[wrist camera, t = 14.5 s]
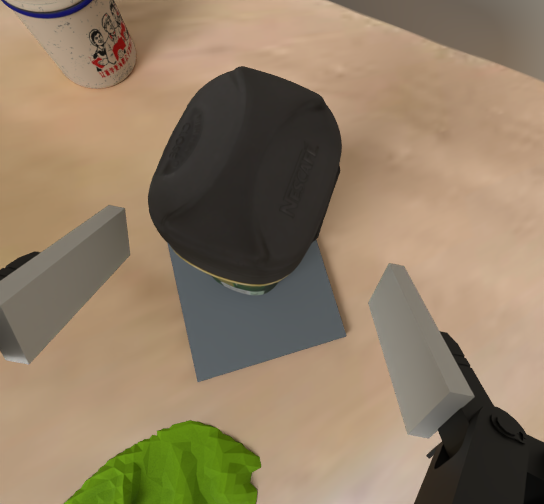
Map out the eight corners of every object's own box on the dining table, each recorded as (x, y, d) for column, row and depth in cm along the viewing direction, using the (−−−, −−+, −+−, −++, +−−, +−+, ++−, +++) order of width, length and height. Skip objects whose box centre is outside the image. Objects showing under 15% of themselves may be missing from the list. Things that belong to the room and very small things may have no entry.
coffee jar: (232, 194, 30) (201, 19, 12) (301, 219, 30) (378, 84, 12) (197, 279, 28) (94, 226, 10) (271, 306, 28) (308, 304, 10)
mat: (157, 190, 30) (155, 187, 29) (289, 160, 32) (290, 158, 31) (198, 380, 27) (197, 382, 26) (344, 335, 28) (346, 336, 28)
